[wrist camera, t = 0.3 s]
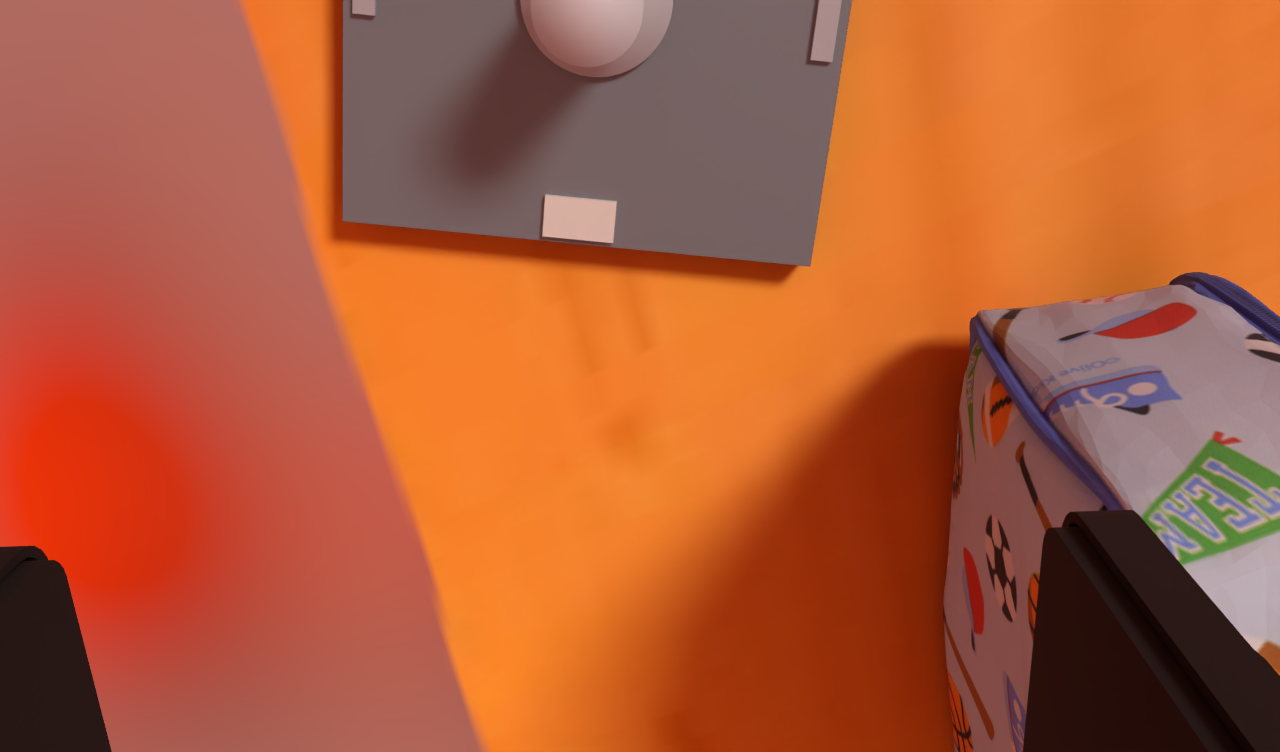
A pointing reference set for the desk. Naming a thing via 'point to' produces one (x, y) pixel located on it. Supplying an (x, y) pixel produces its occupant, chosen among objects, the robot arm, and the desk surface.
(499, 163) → the post base
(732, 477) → the desk surface
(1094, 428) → the lunch box
